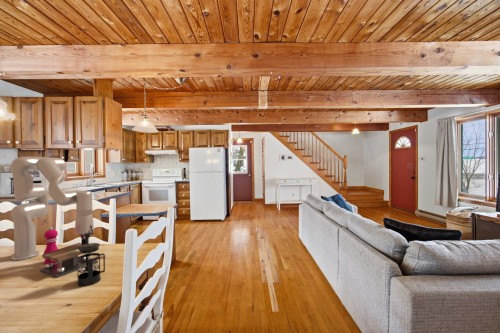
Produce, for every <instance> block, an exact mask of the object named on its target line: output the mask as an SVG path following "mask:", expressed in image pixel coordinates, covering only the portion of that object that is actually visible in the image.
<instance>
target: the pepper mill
mask: <svg viewBox="0 0 500 333" xmlns="http://www.w3.org/2000/svg"><path fill="white" fill-rule="evenodd" d="M58 235H59V233H58V231H57V229H54V227H53V226H50V227H49V228H48V230H46V231H45V232H44V235H43V236H44V239H45V243H46V247H45V249H44V251H43V254H45V253H49V252H52V251H55V250H58V249H59V248H58V247H57V241H58V238H57V237H58ZM43 259H44V261H43V264H44V265H46V264H48V263H53V265H54V264H57V263H58V262H56V261H52V260H49V259H46V258H43Z"/></svg>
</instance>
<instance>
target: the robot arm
mask: <svg viewBox="0 0 500 333" xmlns="http://www.w3.org/2000/svg"><path fill="white" fill-rule="evenodd" d="M66 168H67V163H66V161H65V160H64V159H63V158H61V157H48V156H20V157H17V158H15V159H13V160H12V162H11V164H10V172H11V176H12V179H13V195H14V196H13V197H14V199H15V201H17V202H23V203H21V204H18V205H15V206H14V207H12V209H11V211H10V215H11V218H12V223H13V242H14V243H13V244H14V245H13V247H14V248H13V249H14V252H13V253H14V254H12V255H11V257H10V260H11V261H24V260H28V259H32V258H35V257H37V256H39V255H40V251H39V250H37V240H36V238H37V235H36V234H37V233H36V232H37V231H36V229H37V228H36V223H35V222H34V221H33V219H37V218H40V217H44V216H45V215H47V213H48V211H49V196H50V198H51V199H52V201H53V202H54V203H55V204H57V205H58V206H61V207H62V206H63V207H64V206H69V205H76V206H75V210H76V211H75V213H76V214H75V215H76V216H75V224H74V231H75V233H76V234H77V235H80V239H81V242H80V243H82V245H84V244H88V236H87V235H83V234H85V233H90V232H92V233H94V231H95V230H94V229H95V226H94V218H93V215H94V214H93V192H92V191H90V190H79V189H77V190H70V191H63V190H62V188H60V186H59V185H60V184H61V183H63V182H64V181H65V180H66V178H67V175H66V173H65V172H64V171H65V170H66ZM30 172H40V173H41V174H42V176H43V177H44V178H45V179H46V180H47V181H48V188H46V186H44V185H43V184H40V183H39V184H34V177H33V175H32V174H31V173H30ZM31 201H33V202H31ZM24 202H26V203H24ZM27 202H28V203H27ZM91 236H92V235H90V237H91ZM90 237H89V239H90Z"/></svg>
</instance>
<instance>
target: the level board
mask: <svg viewBox="0 0 500 333" xmlns="http://www.w3.org/2000/svg"><path fill="white" fill-rule="evenodd" d="M81 245H82V243H81V242H78V243H75V244H70V245H68V246H65V247H62V248H58V250H55V251H52V252H49V253H45V254H44V253H43V254H41V257H42V258H43V259H44V258H46V259H49V260H52V261H56V262H57V263H60V262H62V261H64V260H67V259H70V258H72V257H75V256H78V257H79V256H81V255H84V254H83V253H81V252H80V251H79V250H78V249H77V247H79V246H81Z"/></svg>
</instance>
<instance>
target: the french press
mask: <svg viewBox="0 0 500 333" xmlns="http://www.w3.org/2000/svg"><path fill="white" fill-rule="evenodd" d="M94 234H95V233H94V232H90V233H85V234H83V235H87V236H88V244H84V245H81V246H79V247H77V249H78V250H79V251H80V252H81V253H83V254H81V255H78V258H77V272H78V274H77V281H76V285H77V286H78V287H89V286H92V285H95V284H98V283H99V282H100V281H101V274H102V273H105V272H106V263H105V261H106V258H105V257H106V254H105V253H104V252H103V253H99V252H97V251H99V250H100V246H101V243H99V242H91V243H90V238H89V237H91V236H93V235H94ZM90 235H91V236H90ZM92 256H96V257H92ZM101 256H103V258H102V259H103V264H102V266H103V270H101ZM84 257H85V259H86V260H79V259H81V258H84ZM91 257H92V258H91ZM95 260H98V263H96V264H93V261H95ZM78 262H79V263H86V266H84V267H81V268H80V269H79V270H78ZM79 273H80V274H79Z"/></svg>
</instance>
